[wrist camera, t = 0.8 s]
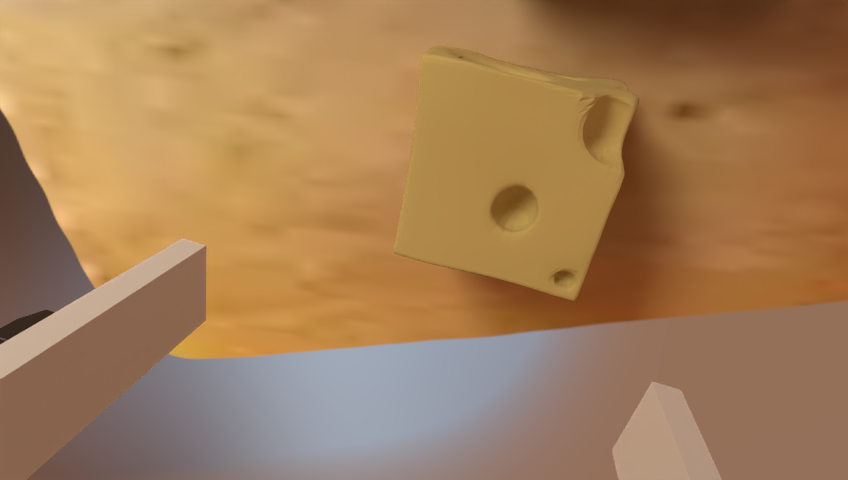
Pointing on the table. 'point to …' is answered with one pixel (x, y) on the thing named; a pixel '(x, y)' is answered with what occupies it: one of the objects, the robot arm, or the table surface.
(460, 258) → the cheese
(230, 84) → the table surface
